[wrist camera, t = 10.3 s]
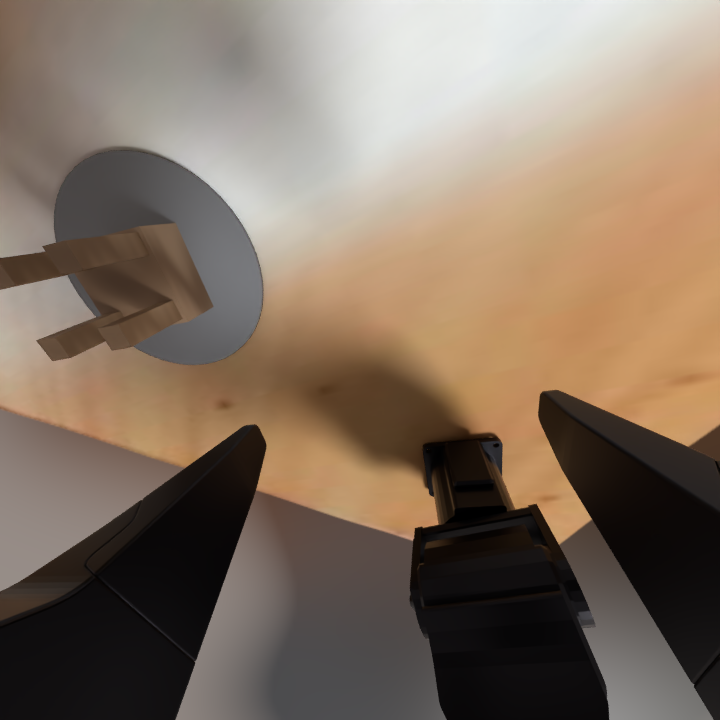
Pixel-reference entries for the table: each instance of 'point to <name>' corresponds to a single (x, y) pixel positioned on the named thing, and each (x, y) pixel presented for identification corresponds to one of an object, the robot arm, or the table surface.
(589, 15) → the table surface
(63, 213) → the mat
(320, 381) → the table surface
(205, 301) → the stool
